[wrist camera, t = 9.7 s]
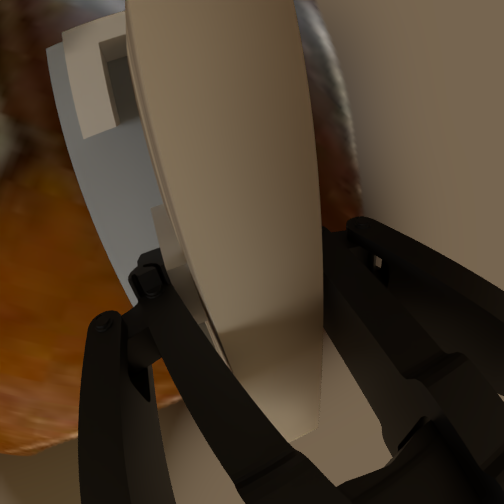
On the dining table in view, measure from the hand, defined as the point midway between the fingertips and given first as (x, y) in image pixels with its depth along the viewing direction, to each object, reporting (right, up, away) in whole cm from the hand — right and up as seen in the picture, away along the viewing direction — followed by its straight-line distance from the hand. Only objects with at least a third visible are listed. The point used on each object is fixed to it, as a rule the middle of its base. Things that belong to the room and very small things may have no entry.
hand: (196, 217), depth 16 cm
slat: (0, 0, 0) cm, 0 cm away
